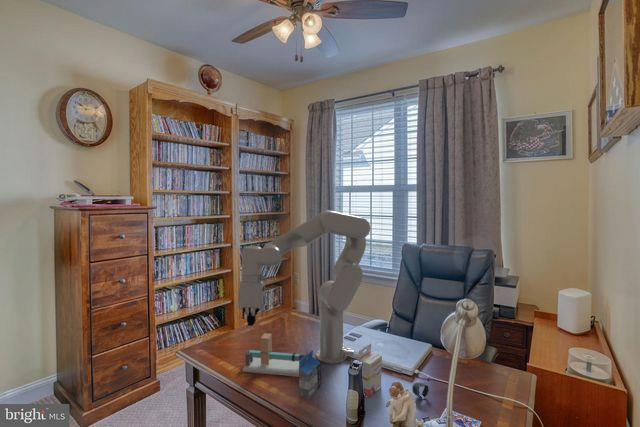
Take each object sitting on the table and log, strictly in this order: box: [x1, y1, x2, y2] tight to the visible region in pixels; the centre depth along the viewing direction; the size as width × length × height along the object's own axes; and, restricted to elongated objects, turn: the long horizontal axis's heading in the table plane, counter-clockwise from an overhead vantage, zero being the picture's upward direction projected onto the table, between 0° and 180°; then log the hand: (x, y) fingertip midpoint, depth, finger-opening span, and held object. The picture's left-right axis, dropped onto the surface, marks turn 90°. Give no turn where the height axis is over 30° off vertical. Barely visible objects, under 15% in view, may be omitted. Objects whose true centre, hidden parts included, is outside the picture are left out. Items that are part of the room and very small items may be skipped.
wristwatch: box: [412, 382, 430, 399], centre depth 108 cm, size 3×5×5 cm, turn 103°
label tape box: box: [298, 350, 322, 400], centre depth 112 cm, size 9×4×12 cm, turn 151°
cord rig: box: [242, 349, 309, 377], centre depth 127 cm, size 24×9×7 cm, turn 81°
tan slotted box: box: [260, 332, 273, 365], centre depth 128 cm, size 3×4×10 cm
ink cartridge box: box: [357, 343, 383, 398], centre depth 113 cm, size 9×5×15 cm, turn 141°
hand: (251, 324), depth 128 cm, fingers closed
